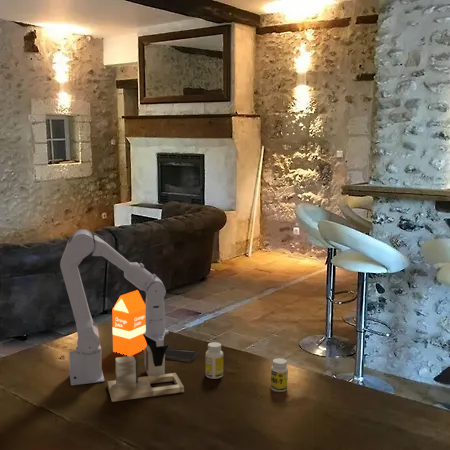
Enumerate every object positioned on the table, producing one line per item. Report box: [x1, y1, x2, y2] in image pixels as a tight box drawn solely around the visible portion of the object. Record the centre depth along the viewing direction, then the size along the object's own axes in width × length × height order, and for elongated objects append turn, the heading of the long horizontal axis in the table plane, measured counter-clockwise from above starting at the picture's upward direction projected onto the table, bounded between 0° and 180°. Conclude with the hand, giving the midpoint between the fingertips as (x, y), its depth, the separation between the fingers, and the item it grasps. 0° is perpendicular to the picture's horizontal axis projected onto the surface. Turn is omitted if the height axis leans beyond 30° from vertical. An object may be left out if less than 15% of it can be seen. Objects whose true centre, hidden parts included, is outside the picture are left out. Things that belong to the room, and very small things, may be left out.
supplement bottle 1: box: [205, 341, 224, 380], centre depth 164 cm, size 5×5×10 cm
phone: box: [165, 347, 199, 363], centre depth 180 cm, size 8×1×15 cm
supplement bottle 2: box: [270, 357, 289, 393], centre depth 155 cm, size 5×5×8 cm
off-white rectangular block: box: [143, 346, 166, 376], centre depth 166 cm, size 6×4×8 cm
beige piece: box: [107, 355, 185, 402], centre depth 154 cm, size 20×10×10 cm, turn 109°
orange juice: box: [111, 289, 147, 357], centre depth 183 cm, size 8×9×20 cm
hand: (155, 360), depth 166 cm, fingers open, 7 cm apart
